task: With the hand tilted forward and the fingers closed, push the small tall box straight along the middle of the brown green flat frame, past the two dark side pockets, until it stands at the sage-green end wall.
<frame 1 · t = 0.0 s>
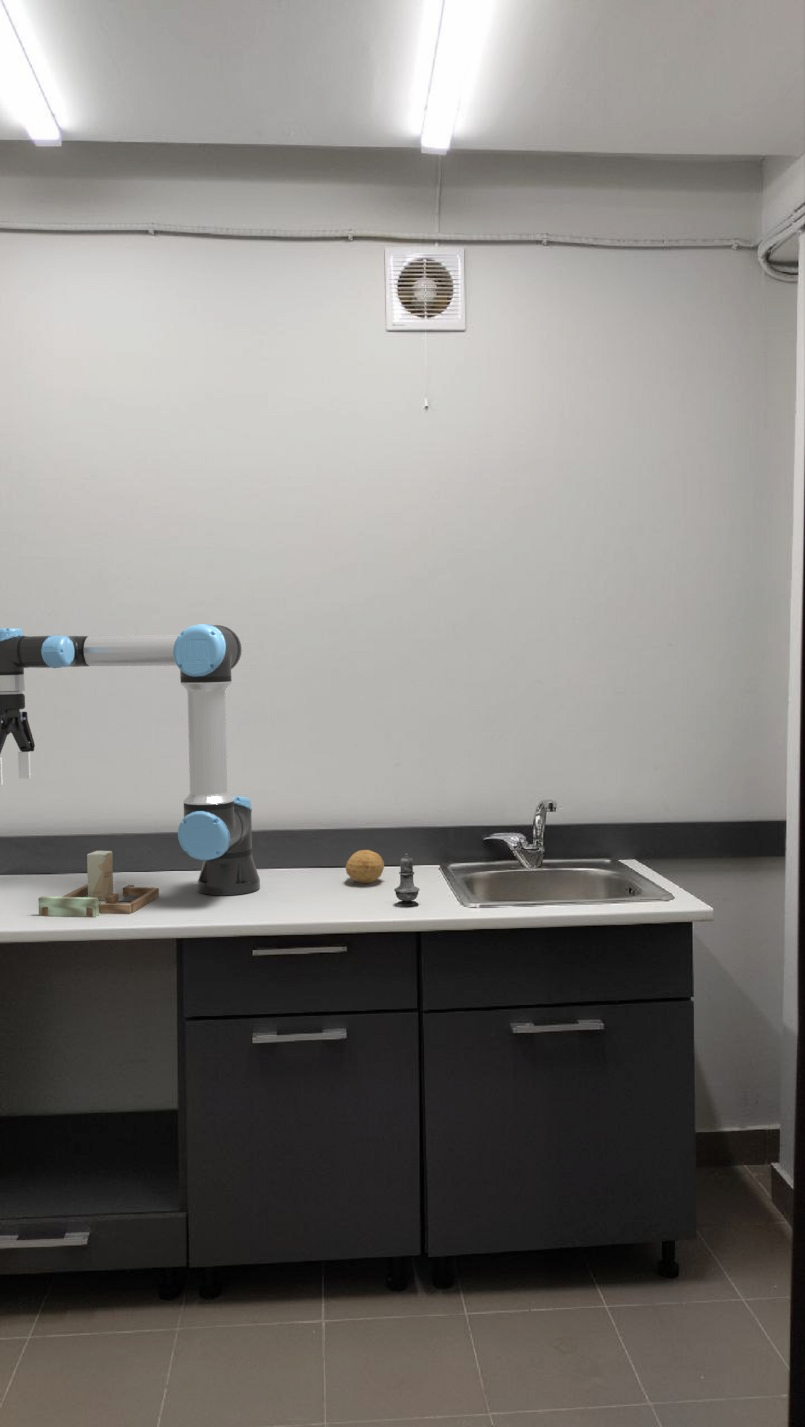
hand: (11, 781, 265), 28 cm above the table, tool pointing down, fingers open, 13 cm apart
salt shaker: (407, 905, 254), on the table
brown green flat frame: (90, 903, 259), on the table
box: (100, 899, 265), resting in brown green flat frame
potato: (365, 883, 279), on the table
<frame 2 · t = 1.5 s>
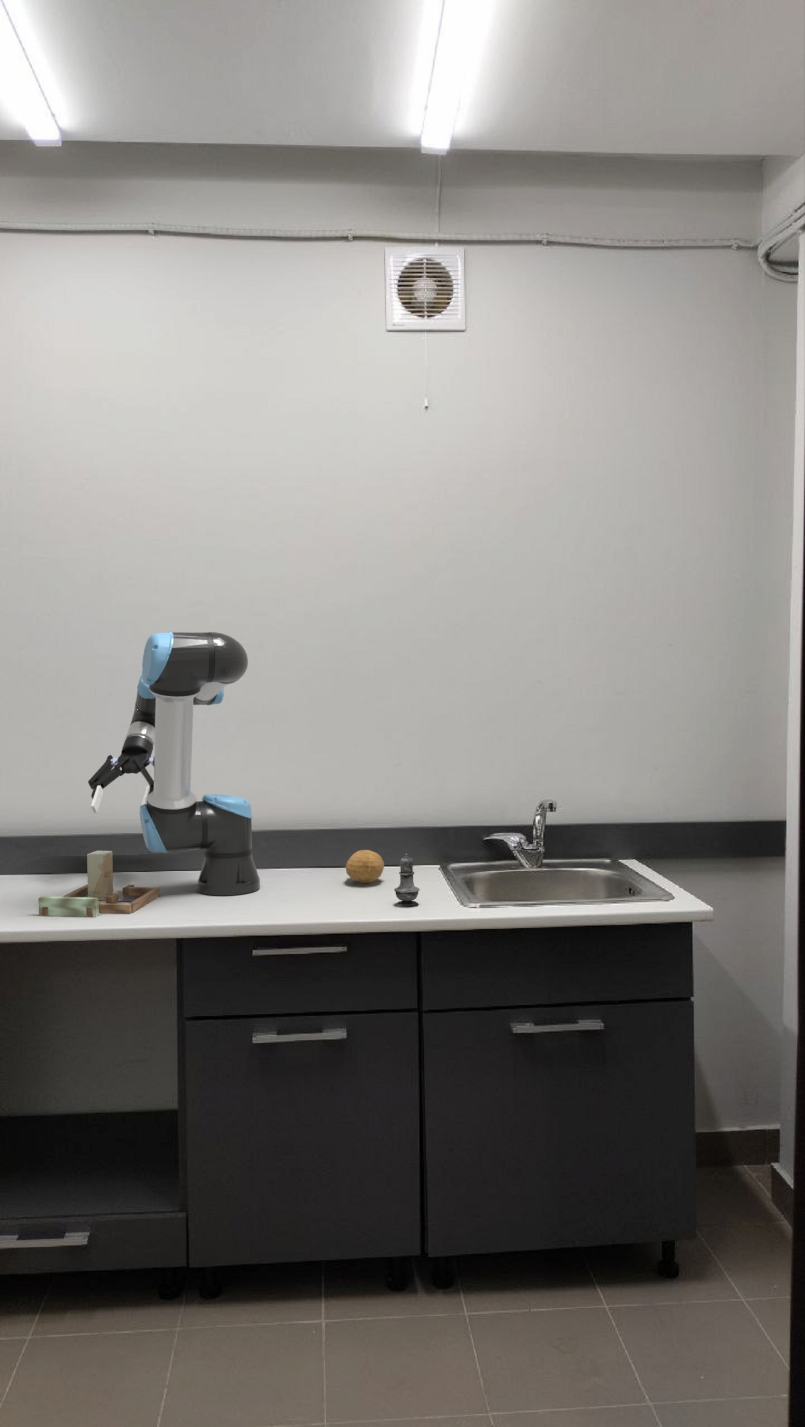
hand: (118, 809, 276), 19 cm above the table, tool tilted 45°, fingers open, 12 cm apart
nothing on the table moved.
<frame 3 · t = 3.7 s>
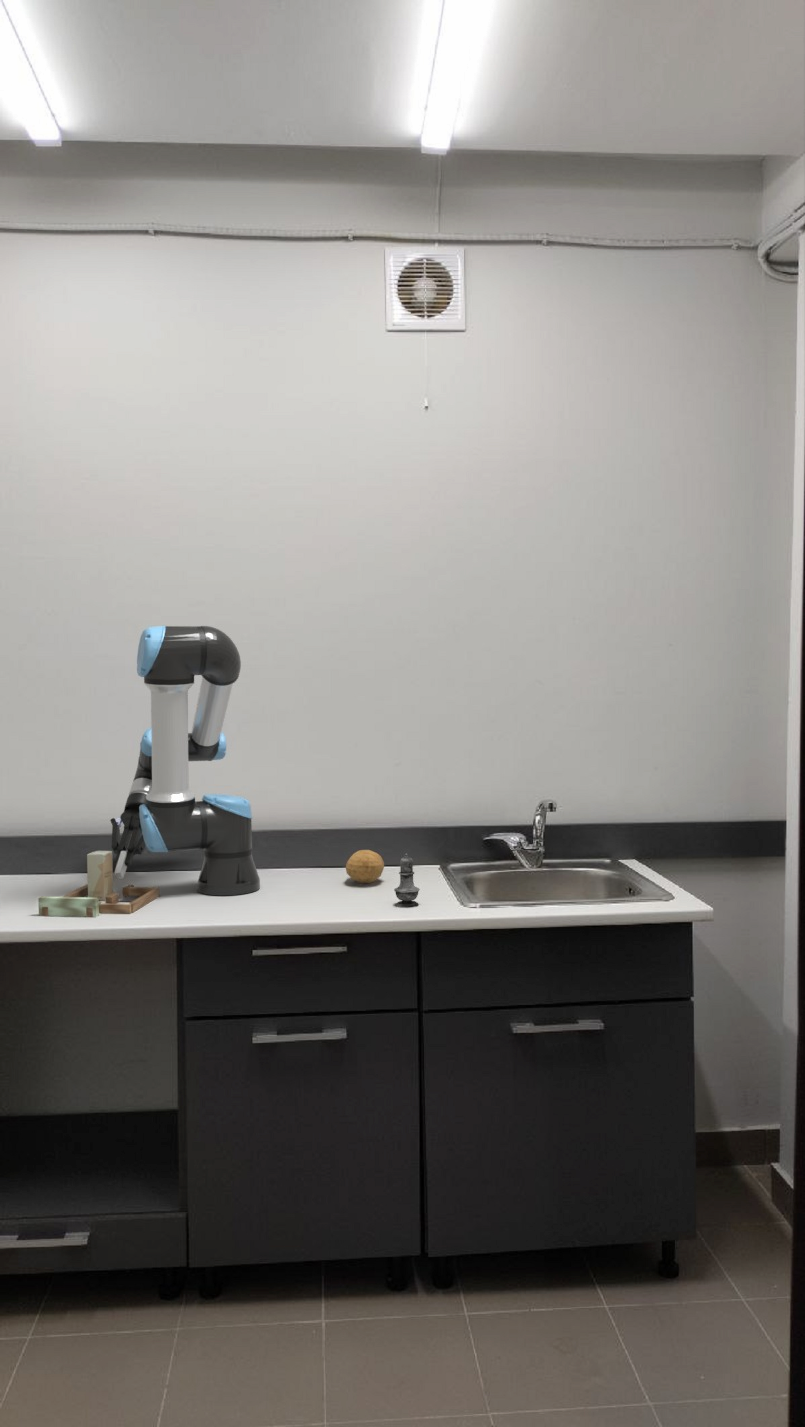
hand: (118, 875, 276), 3 cm above the table, tool tilted 45°, fingers closed
nothing on the table moved.
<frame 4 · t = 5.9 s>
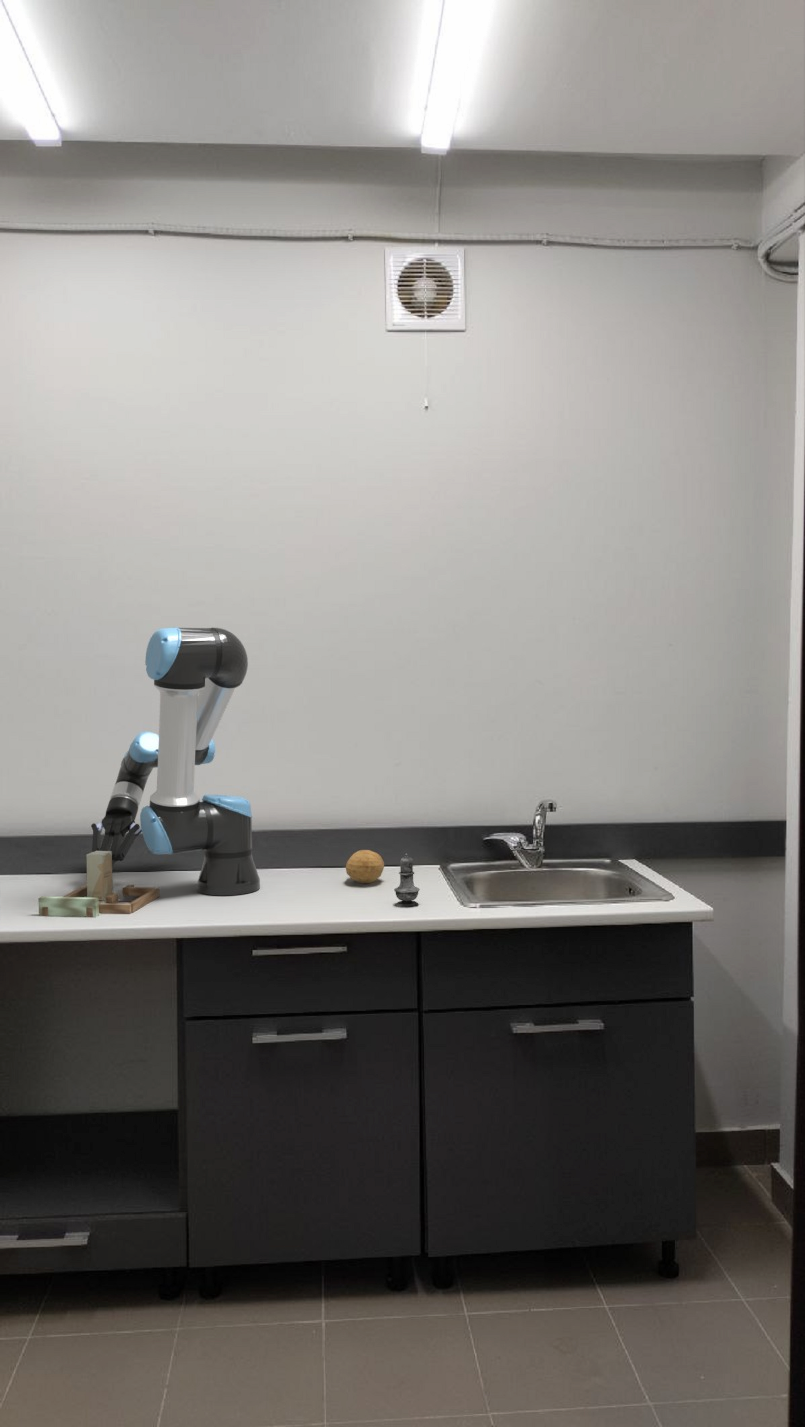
hand: (99, 883, 268), 3 cm above the table, tool tilted 45°, fingers closed
box: (100, 899, 265), resting in brown green flat frame, touching gripper
everything else where it was.
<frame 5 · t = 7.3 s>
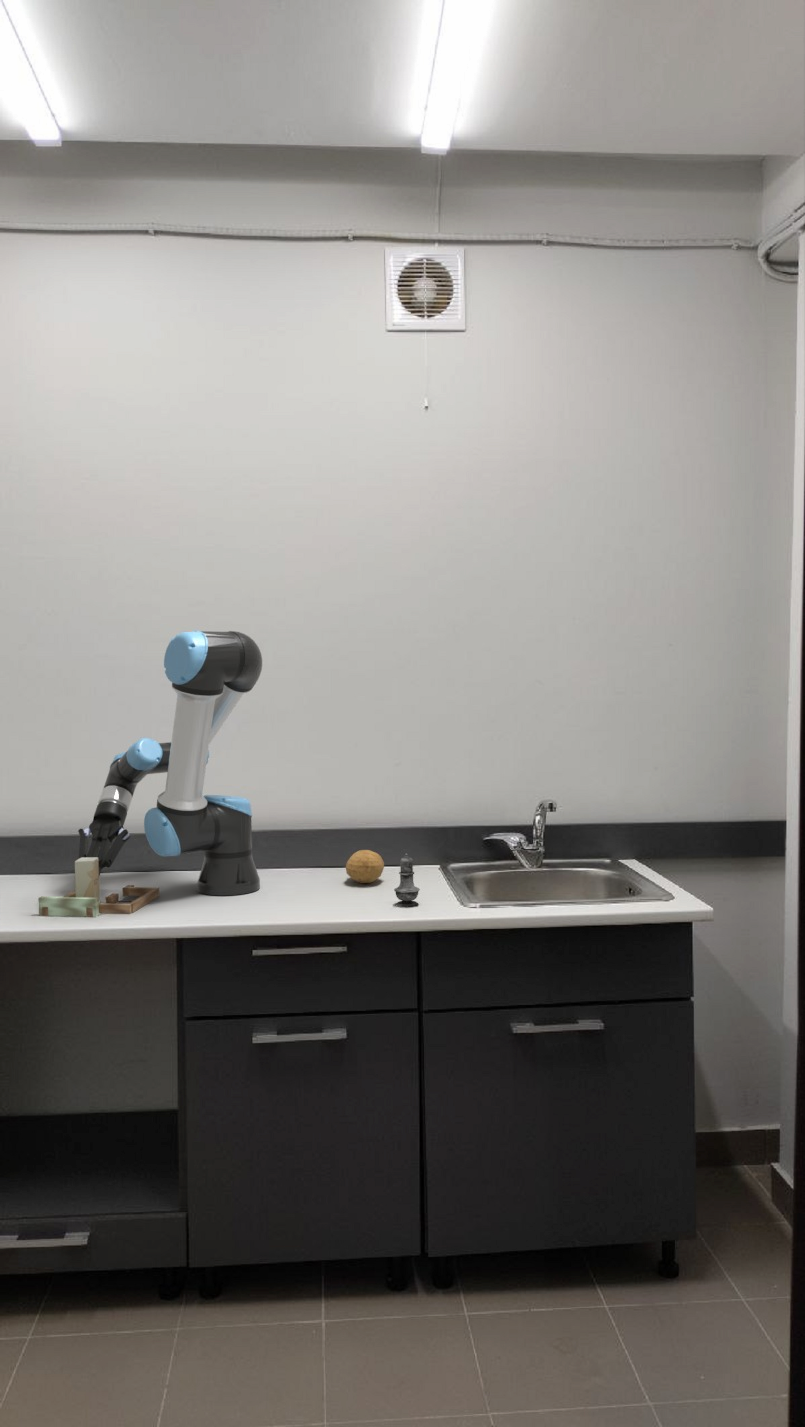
hand: (85, 890, 260), 3 cm above the table, tool tilted 45°, fingers closed
box: (87, 907, 256), resting in brown green flat frame, touching gripper
everything else where it was.
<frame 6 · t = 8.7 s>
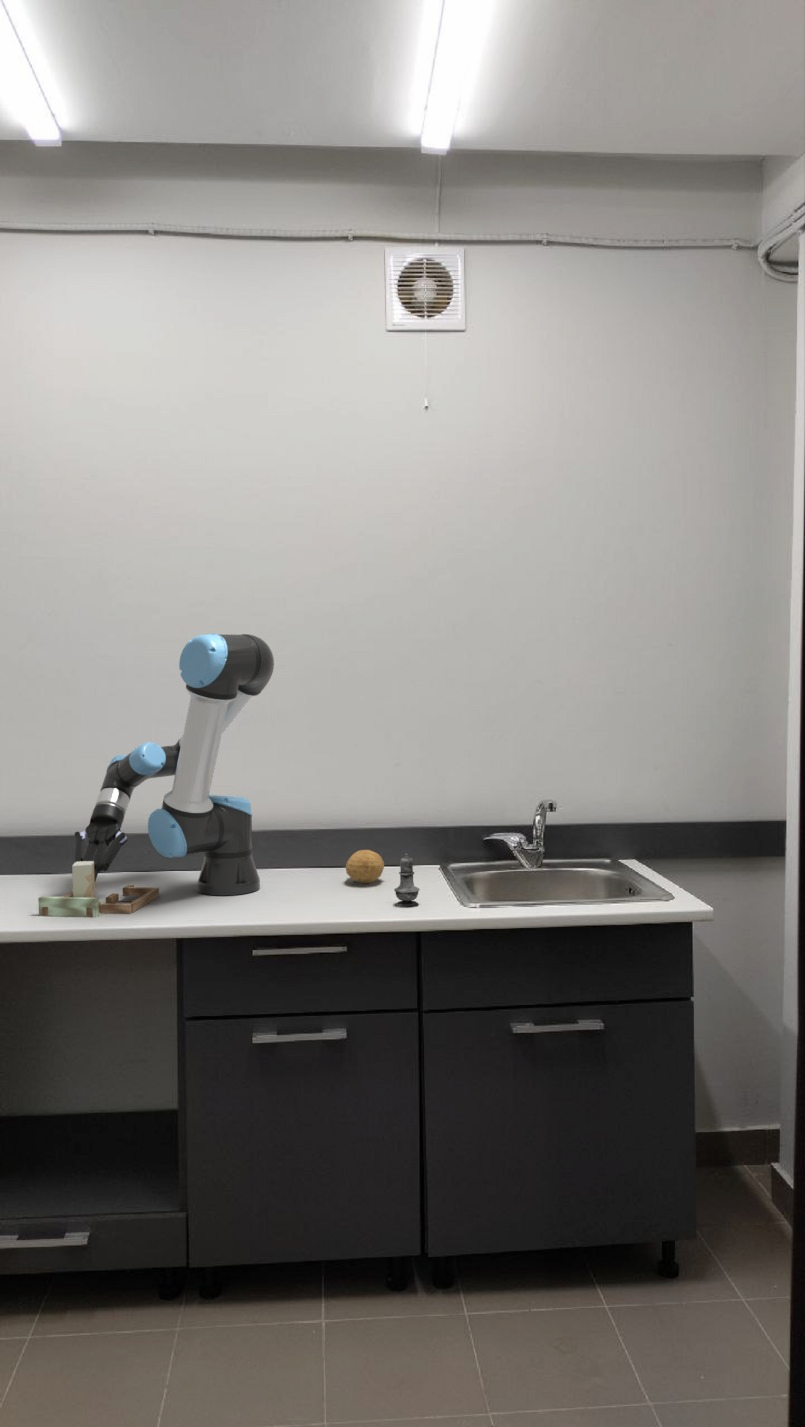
hand: (81, 894, 255), 3 cm above the table, tool tilted 45°, fingers closed
box: (84, 912, 252), resting in brown green flat frame, touching gripper
everything else where it was.
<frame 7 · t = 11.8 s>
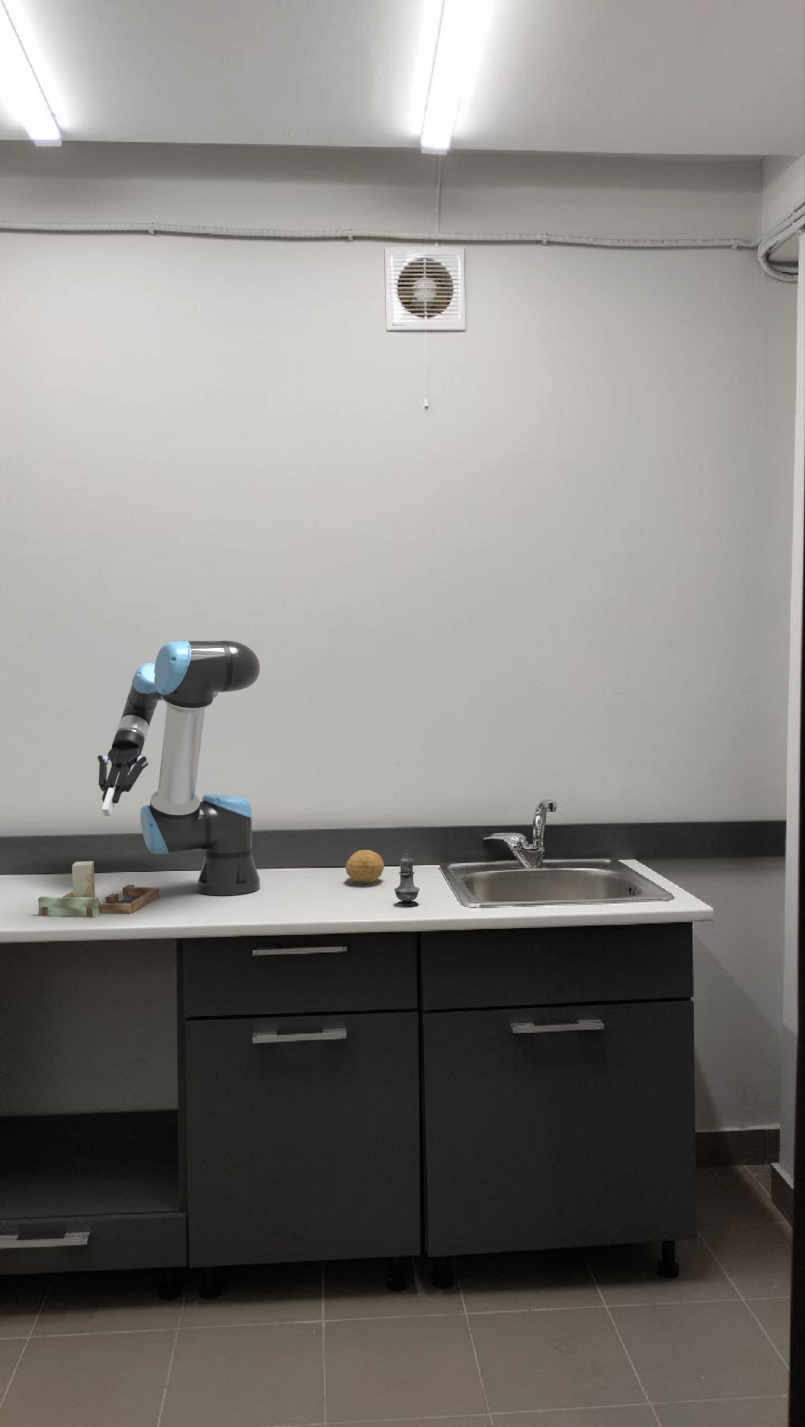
hand: (106, 812, 268), 20 cm above the table, tool tilted 45°, fingers closed
box: (84, 912, 252), resting in brown green flat frame
everything else where it was.
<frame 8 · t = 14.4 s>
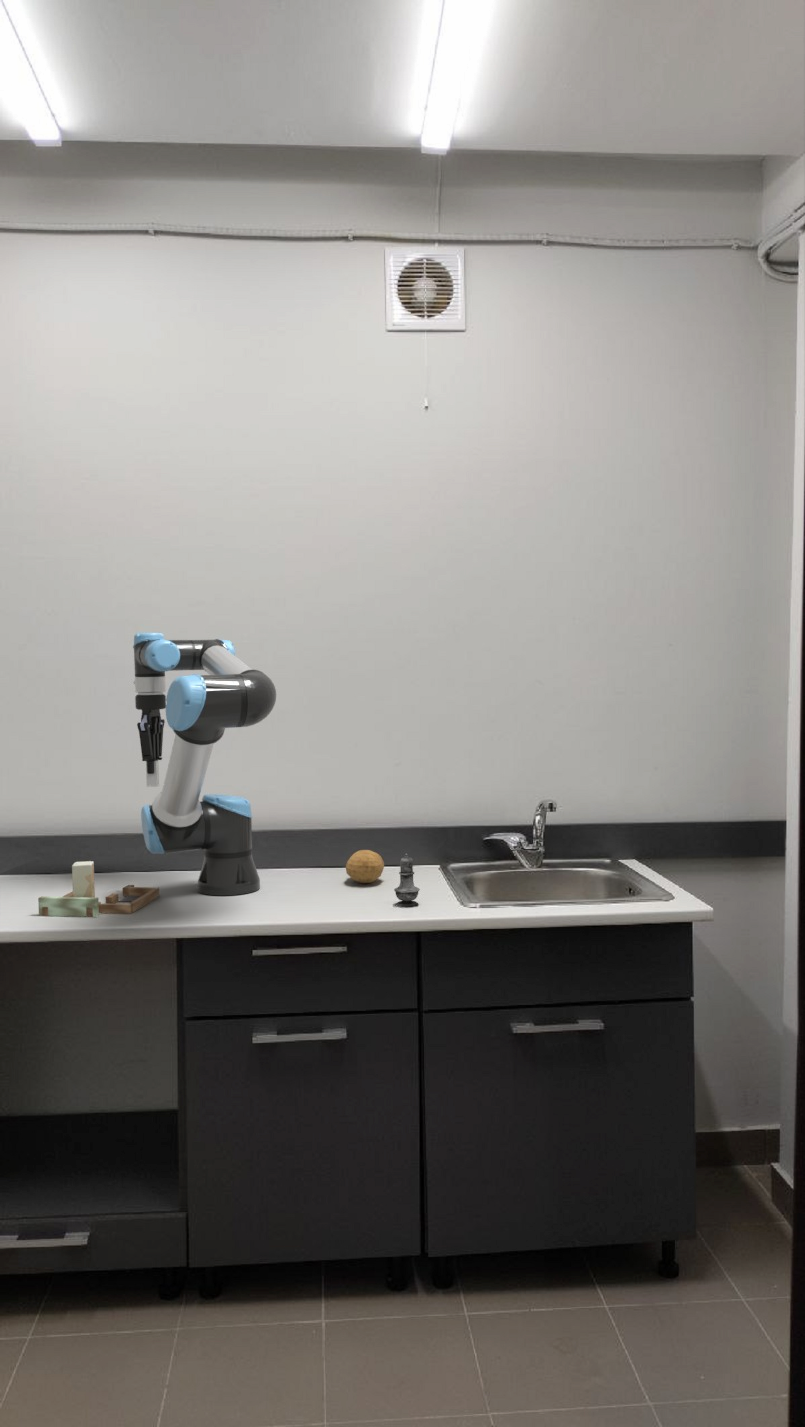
hand: (152, 786, 282), 24 cm above the table, tool pointing down, fingers closed
nothing on the table moved.
at the end: box inside the target area (2.0 cm from its centre), resting in brown green flat frame; box tilted 0° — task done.
